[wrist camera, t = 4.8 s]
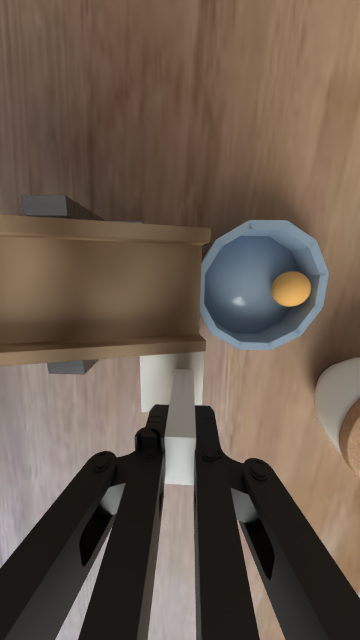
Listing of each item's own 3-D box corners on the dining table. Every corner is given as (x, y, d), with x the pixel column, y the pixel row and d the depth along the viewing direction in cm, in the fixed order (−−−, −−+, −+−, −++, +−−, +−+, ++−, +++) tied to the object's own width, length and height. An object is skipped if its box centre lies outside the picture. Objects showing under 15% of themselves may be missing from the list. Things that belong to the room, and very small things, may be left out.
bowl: (193, 336, 22) (194, 348, 19) (196, 228, 19) (198, 219, 16) (294, 338, 22) (314, 351, 18) (311, 229, 19) (338, 220, 16)
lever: (-55, 428, 14) (-104, 468, 11) (-120, 218, 11) (-211, 198, 8) (198, 397, 18) (210, 421, 15) (204, 235, 15) (221, 226, 12)
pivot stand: (84, 338, 22) (16, 381, 13) (72, 222, 20) (-23, 180, 11) (146, 339, 22) (119, 385, 13) (143, 222, 19) (106, 180, 10)
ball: (315, 309, 17) (296, 304, 20) (322, 271, 16) (301, 271, 19) (277, 309, 17) (264, 303, 20) (282, 270, 16) (268, 271, 20)
